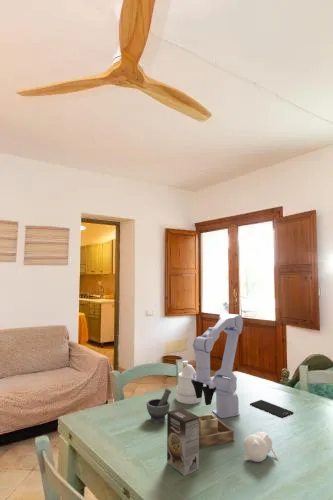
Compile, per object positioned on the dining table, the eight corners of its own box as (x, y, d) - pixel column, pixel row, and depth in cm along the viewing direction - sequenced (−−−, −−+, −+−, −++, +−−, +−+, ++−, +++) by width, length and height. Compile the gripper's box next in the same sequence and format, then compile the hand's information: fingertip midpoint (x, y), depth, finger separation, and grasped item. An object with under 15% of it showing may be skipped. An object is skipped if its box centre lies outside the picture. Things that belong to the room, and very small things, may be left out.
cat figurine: (263, 421, 114) (247, 432, 106) (288, 447, 108) (273, 461, 99) (251, 439, 117) (234, 450, 108) (275, 465, 110) (259, 480, 101)
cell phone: (282, 419, 139) (281, 417, 139) (249, 405, 154) (249, 403, 154) (294, 414, 144) (294, 412, 144) (261, 401, 159) (261, 399, 159)
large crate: (214, 424, 133) (214, 415, 133) (234, 441, 119) (233, 431, 120) (181, 430, 127) (181, 421, 128) (198, 448, 114) (198, 438, 114)
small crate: (211, 429, 127) (211, 413, 127) (217, 435, 122) (217, 418, 123) (195, 432, 124) (195, 416, 125) (201, 438, 120) (201, 421, 120)
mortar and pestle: (152, 426, 131) (153, 395, 132) (142, 418, 139) (143, 389, 140) (176, 420, 136) (176, 391, 137) (165, 412, 144) (165, 385, 145)
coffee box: (166, 463, 105) (166, 411, 106) (181, 456, 109) (181, 406, 110) (184, 476, 98) (184, 421, 99) (199, 469, 102) (199, 415, 103)
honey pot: (171, 400, 159) (171, 362, 161) (183, 392, 170) (183, 357, 172) (194, 405, 152) (194, 366, 154) (206, 397, 163) (205, 360, 165)
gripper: (186, 363, 138) (186, 396, 137) (203, 372, 124) (203, 409, 123) (201, 361, 140) (201, 394, 139) (218, 370, 127) (219, 406, 126)
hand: (203, 401), depth 131 cm, fingers open, 7 cm apart
